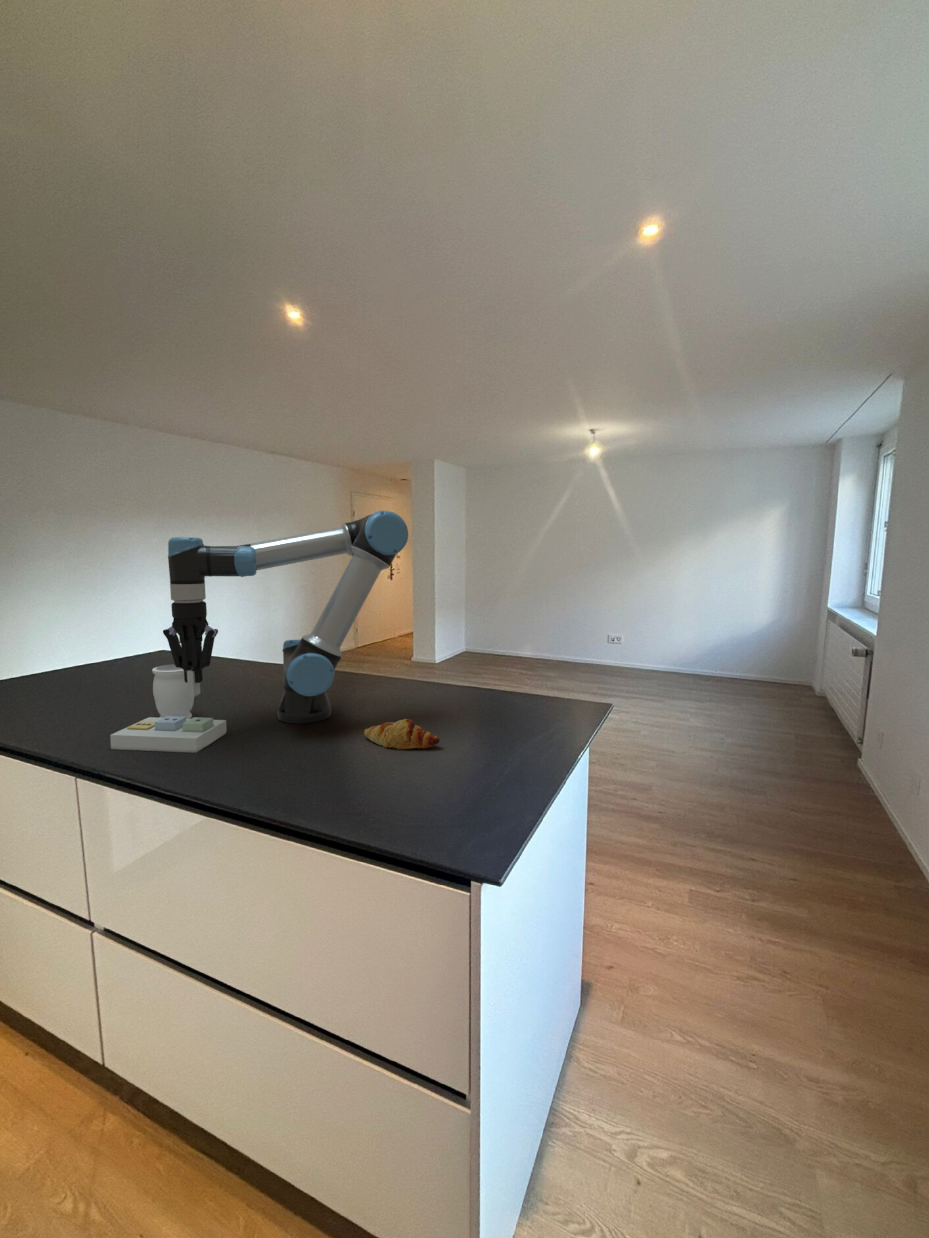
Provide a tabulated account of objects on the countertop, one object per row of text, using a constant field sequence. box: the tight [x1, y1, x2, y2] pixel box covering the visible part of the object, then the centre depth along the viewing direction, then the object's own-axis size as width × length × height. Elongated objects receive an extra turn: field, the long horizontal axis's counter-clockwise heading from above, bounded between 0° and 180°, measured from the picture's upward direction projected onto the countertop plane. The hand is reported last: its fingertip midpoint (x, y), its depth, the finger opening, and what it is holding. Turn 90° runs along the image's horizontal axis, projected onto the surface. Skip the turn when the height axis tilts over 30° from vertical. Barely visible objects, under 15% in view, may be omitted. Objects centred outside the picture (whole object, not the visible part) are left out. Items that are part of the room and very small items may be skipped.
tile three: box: [126, 720, 155, 730], centre depth 129 cm, size 5×5×3 cm
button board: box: [109, 716, 227, 754], centre depth 129 cm, size 21×14×4 cm, turn 87°
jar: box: [152, 663, 195, 719], centre depth 146 cm, size 11×10×15 cm
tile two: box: [155, 716, 186, 731], centre depth 129 cm, size 5×5×3 cm
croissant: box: [363, 718, 440, 750], centre depth 131 cm, size 21×10×8 cm, turn 72°
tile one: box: [182, 716, 214, 732], centre depth 128 cm, size 5×5×3 cm
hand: (194, 695), depth 128 cm, fingers closed
